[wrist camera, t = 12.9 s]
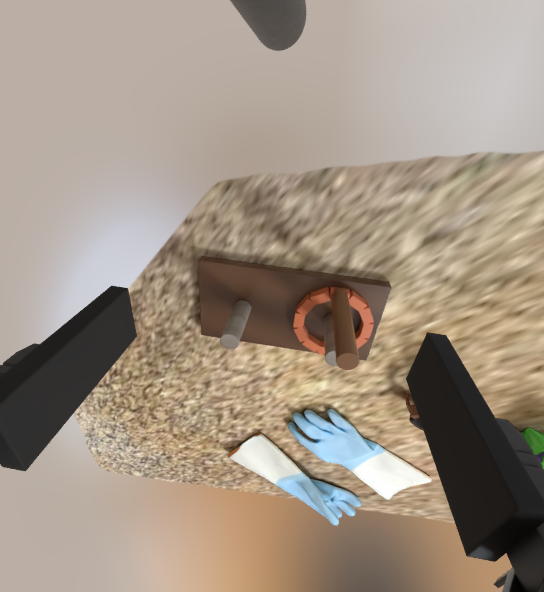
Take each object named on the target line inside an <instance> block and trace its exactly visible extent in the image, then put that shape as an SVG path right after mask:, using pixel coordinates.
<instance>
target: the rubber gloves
mask: <svg viewBox="0 0 544 592" xmlns="http://www.w3.org/2000/svg"><path fill="white" fill-rule="evenodd" d="M327 413H328V416H329V417H330V419H331V420H332V422H333V423H334V424H335V425H336V426H335V425H333V424H331V423H330V422H328V421H326V420H324V419H323V418H321V417H320V416H318V415H317V414H316V413H314V412H313V411H311V410H305V412H304V415H305V417H306V418H307V419H306V418H305V417H304V416H303V415H301V414H300V413H297V412H295V413H294V414H293V416H292V417H293V420H294V421H295V423H296V424H297V425H298V426H299V428H300V429H301V430H302V431H303V432H304V433H305V434H306V435H307V436H309V437H310V438H312V439H314V441H315V442H313V441H310V440H308V439H306V438H305V437H303V436H302V435H301V434H300V433H299V432H298V430H297V428H296V426H295V424H294V423H292V422H289V423H288V425H287V426H288V428H289V430H290V431H291V433H292V434H293V436H294V437H295V438H296V439H297V440H298V441H299V442H300V443H301V444H302V445H303V446H304V447H306V448H307V449H308V450H310V451H311V452H312V453H313V454H315V455H316V456H317V457H319V458H320V459H321V460H323V461H326V462H329V463H338V464H341V465H342V466H344V467H345V468H347V469H348V470H350V471H351V472H352V473H354V474H355V475H356V476H357V477H358V478H359V479H361V480H362V481H363V482H364V483H366V484H367V485H368V486H369V487H371V488H372V489H373V490H374V491H376V492H377V493H378V494H380V495H381V496H382V497H384V498H385V499H387V500H388V499H391V497H392V496H393V495H394V494H396V493H397V492H399V491H401V490H402V489H405V488H408V487H410V486H412V485H418V484H425V483H429V482H431V481H432V478H431V477H429V476H428V475H426V474H424V473H423V472H421V471H420V470H418V469H417V468H415V467H413V466H412V465H410V464H408V463H407V462H405V461H404V460H402V459H400V458H399V457H397V456H395V455H393V454H392V453H390V452H389V451H387V450H386V449H384V448H383V447H381V446H380V445H379V444H377V443H374V442H372V441H369V440H367V439H364V438H362V437H361V435H360V434H359V433H358V432H357V431H356V429H355V428H354V427H353V426H352V425H351V424H350V423H348V422H347V421H346V420H345V419H344V418H342V417H341V416H340V415H339V414H338V413H337V412H336V411H334V410H333V409H328V411H327ZM228 458H230V459H232V460H234V461H235V462H237V463H239V464H241V465H243V466H244V467H246V468H248V469H250V470H252V471H253V472H255V473H257V474H259V475H261V476H262V477H264V478H265V479H267V480H269V481H270V482H272V483H274V484H275V485H277V486H278V487H280V488H282V489H283V490H285V491H286V492H288V493H289V494H291V495H293V496H295V497H297V498H299V499H301V500H302V501H303V502H305V503H306V504H308V505H309V506H311V507H312V508H313V509H315V510H316V511H317V512H319V513H320V514H321V515H323V516H325V517H326V518H327V519H328V520H329V521H330V522H331V523H332V524H333V525H338V524H339V519H338V518H340V517H341V516H342V513H341V511H340V509H342V510H343V511H344V512H345V513H346V514H348V515H349V516H354V515H355V510H354V509H353V508H352V507H351V506H350V505H349V504H348V503H350V504H352V505H353V506H355V507H360V506H361V501H360V500H359V499H358V498H357V497H356V496H355V495H353V494H352V493H351V492H349V491H346V490H344V489H341V488H338V487H335V486H332V485H329V484H327V483H324V482H322V481H318V480H314V479H309V477H307V476H306V475H305V474H304V473H303V472H302V471H301V470H300V469H299V468H298V467H297V466H296V465H295V463H294V462H293V461H292V460H290V459H289V458H288V457H287V456H286V455H285V454H284V453H283V452H282V451H281V450H280V449H279V448H278V447H277V446H276V445H274V444H273V443H272V442H271V441H270V440H268V439H267V438H266V437H265V436H264V435H262V434H261V433H259V434H257V435H255V436H253V437H252V438H250V439H249V440H247V441H245V442H244V443H243V444H242V445H241V446H240V447H237V448H236V449H235V450H233V451H231V452H230V453H229V454H228ZM345 501H346V502H345ZM347 502H348V503H347ZM339 508H340V509H339Z"/></svg>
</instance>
